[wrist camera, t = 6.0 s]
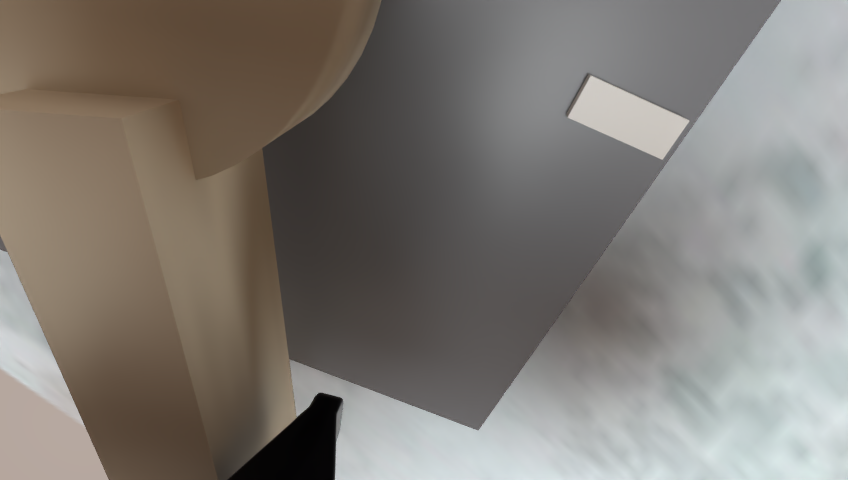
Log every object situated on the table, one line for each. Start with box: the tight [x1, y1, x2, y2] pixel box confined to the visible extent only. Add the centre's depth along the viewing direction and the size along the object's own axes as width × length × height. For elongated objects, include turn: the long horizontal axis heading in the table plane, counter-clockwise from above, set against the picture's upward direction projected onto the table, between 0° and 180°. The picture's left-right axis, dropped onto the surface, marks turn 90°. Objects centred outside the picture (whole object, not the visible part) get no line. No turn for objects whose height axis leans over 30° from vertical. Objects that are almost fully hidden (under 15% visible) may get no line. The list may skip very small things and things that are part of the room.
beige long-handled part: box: [0, 0, 382, 480], centre depth 7 cm, size 14×6×3 cm, turn 178°
